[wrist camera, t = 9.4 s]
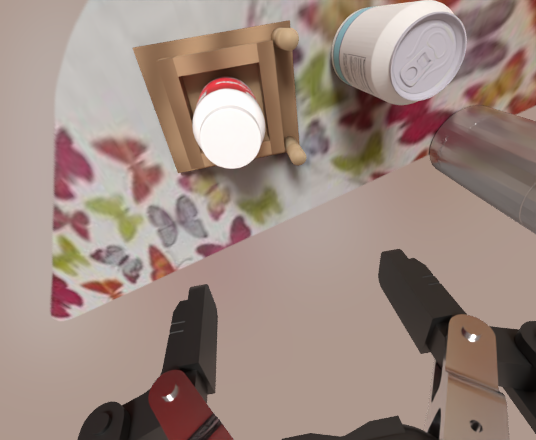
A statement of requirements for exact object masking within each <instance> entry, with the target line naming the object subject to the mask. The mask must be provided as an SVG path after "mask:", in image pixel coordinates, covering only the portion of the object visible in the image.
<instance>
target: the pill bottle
mask: <svg viewBox="0 0 536 440" xmlns="http://www.w3.org/2000/svg"><path fill="white" fill-rule="evenodd" d="M192 127H193V133H194V137H195V139H196V141H197V143H198V145H199V147H200V148H201V149H202V150H203V152H204V154H205V155H206V157H207V158H208V159H209V160H210V161H211V162H212V163H214V164H215V165H217V166H219V167H222V168H227V169H235V168H240V167H243V166H245V165H247V164H249V163H250V162H251V161H252V160H253V159H254V158H255V157H256V156H257V154H258V152H259V149H260V146H261V144H262V142H263V139H264V136H265V120H264V116H263V113H262V111H261V108H260V106H259V104H258V102H257V100H256V98H255V96H254V94H253V92H252V91H251V89H250V88H249V87H248V86H247V85H246V84H245V83H243V82H242V81H240V80H239V79H236V78H233V77H228V76H224V77H218V78H216V79H213V80H212V81H210V82H209V83H208V84H207V85H206V86H205V87H204V88H203V90H202V92H201V94H200V97H199V99H198V102H197V105H196V109H195V112H194V115H193V124H192Z"/></svg>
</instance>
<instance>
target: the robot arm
mask: <svg viewBox="0 0 536 440" xmlns="http://www.w3.org/2000/svg"><path fill="white" fill-rule="evenodd" d="M430 160H431V162H432V165H433V166H434V167H435V168H436V169H437V170H439V171H440V172H442V173H443V174H445V175H447V176H448V177H449V178H451V179H452V180H454V181H455V182H457V183H458V184H460V185H461V186H463V187H464V188H466V189H468V190H469V191H470V192H472V193H473V194H475V195H476V196H478V197H480V198H481V199H483V200H484V201H486V202H487V203H489V204H490V205H492V206H493V207H495V208H496V209H498V210H499V211H501V212H502V213H504V214H505V215H507V216H508V217H510V218H511V219H513V220H514V221H516V222H518V223H519V224H520V225H522V226H524V227H525V228H527V229H528V230H530V231H531V232H533V233H535V234H536V121H533V120H530V119H526V118H523V117H519V116H516V115H513V114H510V113H507V112H503V111H500V110H497V109H493V108H490V107H487V106H482V105H475V106H469V107H467V108H464V109H462V110H460V111H458V112H457V113H455V114H454V115H452V116H451V117H450V118H449V119H447V120H446V121H445V123H444V124H443V125H442V126H441V127H440V128H439V130H438V131H437V133H436V134H435V136H434V138H433V140H432V144H431V147H430ZM378 278H379V283H380V286H381V288H382V290H383V291H384V293H385V295H386V296H387V298H388V300H389V301H390V303H391V305H392V306H393V308H394V309H395V311H396V313H397V315H398V316H399V318H400V320H401V321H402V323H403V325H404V326H405V328H406V329H407V331H408V333H409V335H410V336H411V338H412V340H413V341H414V343H415V345H416V346H417V348H418V350H419V351H420V353H421V354H423V353H428V352H431V353H432V355H433V356H434V358H435V359H434V364H433V373H432V382H431V390H430V398H429V406H428V411H427V415H426V419H425V424H424V431H423V430H421V429H418V428H416V427H413V426H409V425H404V424H402V423H401V421H400V419H399V416H394V417H389V418H384V419H379V420H374V421H369V422H368V423H366V424H364V425H363V426H361V427H359V428H357V429H356V430H354V431H352V432H351V433H349V434H347V435H345V436H342V437H338V436H330V435H321V434H313V433H309V434H304V435H299V436H294V437H289V438H285V439H282V440H509V427H508V413H507V402H506V398H505V395H504V394H503V393H501V392H499V388H498V386H501V387H503V388H504V390H505V391H506V392H507V394H508V395H509V397H510V398H511V400H512V401H513V402H514V404H515V405H516V407H517V408H518V409H519V411H520V412H521V414H522V415H523V416H524V418H525V419H526V421H527V422H528V424H529V425H530V426H531V428H532V429H533V431H534V432H535V434H536V321H529V322H526V323H524V324H523V325H522V326H521V328H520V329H519V330H517V329H508V328H499V327H491V326H488V325H487V324H486V323H485V322H484V321H482V320H480V319H479V318H477V317H474V316H470V315H467V314H466V313H465V312H464V311H463V309H462V308H461V307H460V306H459V305H458V303H457V302H456V301H455V300H454V299H453V297H452V296H451V295H450V294H449V293H448V292H447V290H446V289H445V288H444V287H443V286H442V284H440V283H439V281H438V280H437V278H435V276H433V274H432V273H431V271H430V270H429V269H428V268H427V267H426V265H424V264H423V263H421V262H420V261H418V260H416V259H415V258H411V259H408V258H407V256H406V255H405V254H404V252H403V251H402V250H400V249H396V250H390V251H385V252H382V253H381V258H380V266H379V274H378ZM217 318H218V316H217V308H216V305H215V302H214V300H213V297H212V294H211V292H210V289H209V286H208V285H207V284H205V285H199V286H194V287H190V290H189V295H188V300H184V301H180V302H179V304H178V305H177V307H176V309H175V310H174V312H173V317H172V322H171V324H172V325H171V328H170V335H169V338H168V343H167V348H166V354H165V359H164V364H163V369H162V373H161V375H160V376H159V377H158V378H157V379H156V381H155V382H154V383H153V385H152V387H151V389H150V390H148V391H147V392H146V393H144V394H142V395H141V396H139V397H137V398H135V399H133V400H131V401H130V402H128V403H126V404H124V405H122V406H121V405H120V404H119V403H117V402H108V403H105V404H103V405H101V406H99V407H98V408H96V409H95V410H94V411H93V412H92V413H91V414H90V415H89V416H88V418H87V419H86V420H85V422H84V424H83V426H82V428H81V431H80V433H79V437H78V440H234V439H233V438H232V436H231V435H230V433H229V432H228V431H227V429H226V428H225V427H224V425H223V424H222V423H221V421H220V420H219V419H218V417H216V416H215V414H214V413H213V412H212V410H211V409H210V407H209V406H208V405H207V395H208V394H213V393H215V382H216V351H217V322H218V321H217Z"/></svg>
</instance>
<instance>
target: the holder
mask: <svg viewBox="0 0 536 440" xmlns="http://www.w3.org/2000/svg"><path fill="white" fill-rule="evenodd" d="M298 41H299V36H298V33H297V32H296V30H294V29H293V28H290V21H283V22H277V23H272V24H266V25H260V26H255V27H249V28H243V29H237V30H232V31H226V32H220V33H214V34H209V35H203V36H197V37H192V38H186V39H180V40H174V41H169V42H163V43H157V44H151V45H146V46H140V47H135V48H133V50H134V53H135V56H136V59H137V61H138V64H139V67H140V70H141V72H142V75H143V78H144V81H145V83H146V86H147V89H148V92H149V94H150V97H151V100H152V103H153V105H154V108H155V111H156V114H157V116H158V119H159V122H160V125H161V127H162V130H163V133H164V136H165V138H166V141H167V144H168V147H169V149H170V152H171V155H172V158H173V160H174V163H175V166H176V169H177V171H178V173H182V172H187V171H192V170H197V169H203V168H208V167H213V166H217V165H215V164H214V163H212V162H211V161H210V160H209V159H208V158H207V157H206V155H205V154H204V152H203V150H202V149H201V148H200V147H199V145H198V143H197V141H196V139H195V137H194V133H193V127H192V124H193V115H194V112H195V109H196V105H197V102H198V99H199V97H200V94H201V92H202V90H203V88H204V87H205V86H206V85H207V84H208V83H209V82H210V81H212V80H213V79H216V78H218V77H224V76H228V77H233V78H236V79H239V80H240V81H242V82H243V83H245V84H246V85H247V86H248V87H249V88H250V89H251V91H252V92H253V94H254V96H255V98H256V100H257V102H258V104H259V106H260V108H261V111H262V113H263V116H264V120H265V136H264V139H263V142H262V144H261V146H260V149H259V152H258V154H257V156H256V157H255V158H260V157H265V156H271V155H276V154H281V153H286V152H287V154H288V155H289V157H290V159H291V161H292V163H293V164H294V165H302V164H303V163H304V162H305V161H306V154H305V153H304V151H303V150H302V148H301V147H300V145H299V134H298V122H297V109H296V96H295V83H294V70H293V57H292V50H293V49H295V48H296V46H297V45H298ZM255 158H254V159H255Z"/></svg>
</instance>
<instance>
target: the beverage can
mask: <svg viewBox="0 0 536 440" xmlns="http://www.w3.org/2000/svg"><path fill="white" fill-rule="evenodd" d="M466 45H467V37H466V31H465V28H464V25H463V23H462V22H461V20H460V19H459V18H458V17H457V16H455V15H454V14H453V12H452V11H451V10H450V9H449V8H448V7H447V6H445V5H444V4H442V3H440V2H437V1H432V0H424V1H416V2H408V3H400V4H392V5H384V6H377V7H369V8H363V9H360V10H358V11H356V12H354V13H353V14H351V15H350V16H349V17H348V18H347V19H346V20H345V21H344V22H343V23H342V25H341V26H340V27H339V29H338V31H337V33H336V35H335V38H334V41H333V45H332V52H331V58H332V65H333V68H334V71H335V73H336V74H337V76H338V77H339V78H340V79H341V80H342V81H343V82H345V83H346V84H348V85H351V86H353V87H355V88H357V89H360V90H362V91H364V92H366V93H368V94H371V95H373V96H375V97H377V98H380V99H382V100H384V101H386V102H388V103H391V104H395V105H407V104H411V103H415V102H417V101H420V100H425V99H428V98H430V97H432V96H434V95H436V94H437V93H439V92H440V91H441V90H443V89H444V88H445V87H446V86H447V85H448V84H449V83H450V82H451V80H452V79H453V78H454V76H455V75H456V73H457V72H458V70H459V68H460V66H461V64H462V61H463V59H464V55H465V51H466Z"/></svg>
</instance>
